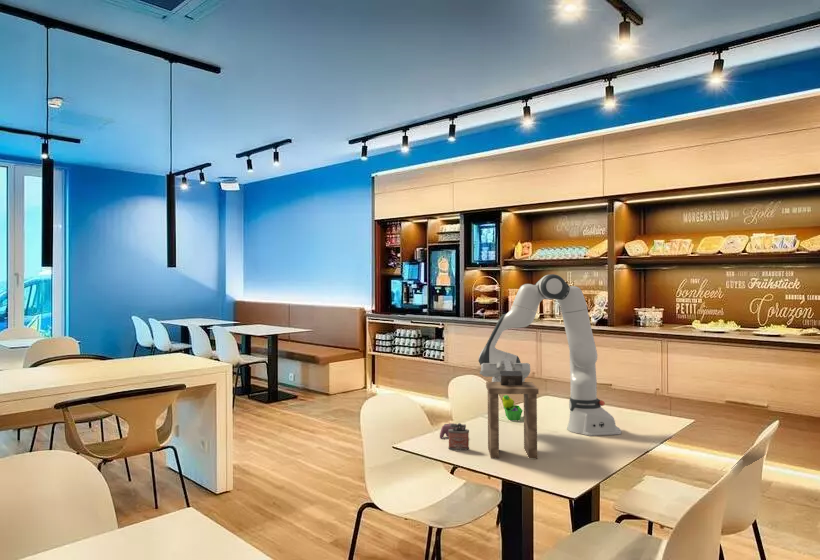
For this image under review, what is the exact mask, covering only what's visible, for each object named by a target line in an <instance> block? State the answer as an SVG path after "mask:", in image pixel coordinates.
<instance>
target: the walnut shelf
mask: <svg viewBox="0 0 820 560" xmlns="http://www.w3.org/2000/svg"><path fill="white" fill-rule="evenodd" d="M485 386H486V387H485V388H486V389H487V448H488V449H487V450H488V454H489V457H490V459H500V433H499V432H500V426H499V425H500V424H499V422H500V421H499V420H500V418H499V417H500V415H499V414H500V413H499V412H500V411H499V410H500V409H499V405H500V404H499V395H523V450H524V449H525V450H524V451H526V452H525V454H526V453H527V454H526V455H528V456H527V457H529V458H536V459H535V460H537V459H538V422H537V421H538V404H537V403H538V402H537V401H538V400H537V399H538V398H537V397H538V396H537V395H539V387H537V386H536V385H535V383H533V381H524V382H522V385H501V383H500V382H492V381H485ZM529 458H528V459H529Z"/></svg>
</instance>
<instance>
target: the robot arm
mask: <svg viewBox="0 0 820 560" xmlns="http://www.w3.org/2000/svg"><path fill="white" fill-rule="evenodd" d="M543 300H557V301H558V303H559V305H560V309H561V310H560V311H561V313H562V314H561V317H562V320H563V325H564V331H565V335H566V340H567V344H568V349H569V376H570V381H569V383H570V385H569V387H570V397H569V401H568V403H569V404H568V405H569V419H568V424H567V428H566V429H567V431H569V432H571V433H576V434H580V435H585V436H590V437H591V436H611V435H612V436H614V435H622V429H621V428H620V427H618V425H616V420H615V417H614V416H613V415H612V414H611V413H609V412H608V411H607V410H606V409H604V408H603V406H605V401H604V400H602V399H600V398H598V396H597V394H598V393H597V392H598V391H597V390H598V389H597V368H596V363H597V360H598V352H597V348H596V347H597V346H596V342H595V338H594V335H593V330H592V326H591V321H590V320H591V319H590V315H589V311H588V305H587V302H586V298H585V296H584V294H583V291H582V289H581V288H580V287H578V286H575V285H570V286H569V284H568V283H567V282H566V281H565V280H564V279H563V277H561V276H560V275H558V274H555V273H553V274H546V275H544V276H543V277H541V278H540V279H539V280H538V281H537V282H536V283H534V284H532V283H524V284H522V285H520V287H519V288H518V291H517V293H516V295H515V297H514V299H513V303H512V305H511V308H510V310H508V312H507V313H502V314H501V316H500V317H499V319H498V321H497V323H496V324H495V326H494V329H493V330H492V332H491V334H490V336H489V338H488V340H487V342H486V343H485V346H484V347H483V348H482V350H481V351H480V353H479V356H478V363H479V365H480V370H479V375H482V377H485V378H488V377H489V378H492V379H491V382H500V371H505V370H504V361H503V359H509V360H510V363H511V367H512V370H513V371H521V373H522V382H526V381H525V380H526V379H527V378H528V377H529V375H530V374H531V364H530V363H528V362H521V359H520V357H519V356H518V355H517V354H514V353H510V352H507V351H503V350H501V349H497V348H496V345H497V343H498V341H499V340H500V338H501V336H502V333H504V331H506V330H509V329H518V328H526V327H528V326H530V325H532V323H533V322H534V320H535V317H536V315H537V312H538V308H539V305H540V303H541V302H542V301H543Z"/></svg>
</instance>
